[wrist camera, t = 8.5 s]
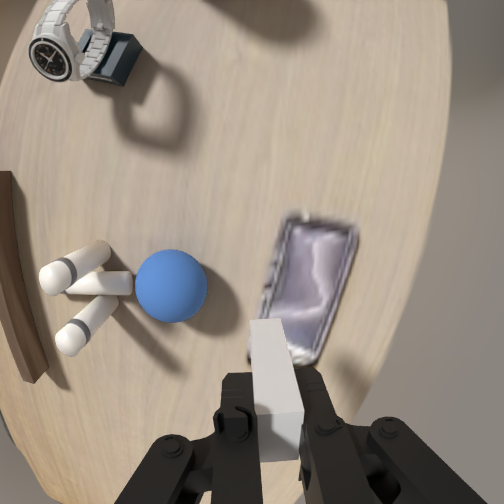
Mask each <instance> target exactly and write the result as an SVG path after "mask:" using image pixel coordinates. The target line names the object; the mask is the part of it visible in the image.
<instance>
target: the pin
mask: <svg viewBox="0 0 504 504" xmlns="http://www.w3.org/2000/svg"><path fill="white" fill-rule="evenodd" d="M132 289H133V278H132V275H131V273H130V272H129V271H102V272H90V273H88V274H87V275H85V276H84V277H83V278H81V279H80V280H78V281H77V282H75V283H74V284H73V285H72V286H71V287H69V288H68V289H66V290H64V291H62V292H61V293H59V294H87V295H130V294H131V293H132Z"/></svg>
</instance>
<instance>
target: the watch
mask: <svg viewBox="0 0 504 504" xmlns="http://www.w3.org/2000/svg"><path fill="white" fill-rule="evenodd" d="M78 1H79V0H54V1H53V2H52V4H51V5H50V6H49V7H48V8H47V10H46V11H45V13H44V14H45V15H43V16H42V18H41V20H40V22H39V24H37V25H36V28H35V31H34V35H33V40H32V41H31V42H30V44H29V47H28V55H29V58H30V61H31V63H32V65H33V66H34V68H35V69H36V70H37V71H38V72H39V73H40V74H41V75H42V76H44V77H45V78H47V79H49V80H51V81H54V82H66V81H68V80H70V81H79V80H82V79H84V78H86V79H92V80H97V81H102V82H107V83H112V84H116V85H121V86H124V84H125V82H126V80H127V78H128V76H129V74H130V71H131V69H132V67H133V65H134V63H135V62H136V60H137V58H138V56H139V54H140V52H141V50H142V48H143V47H142V46H141V44H140V43H139V42H138V40H137V39H136V38H135V36H134V35H133V34H127V33H120V32H112V31H113V29H115V15H114V8H113V3H112V0H87V3H86V4H87V7H88V10H89V14H90V21H91V28H94V30H90V29H86V30H85V31H84V33H83V35H82V37H81V38H80V40H79V42H78V43H77V42H76V41H75V40H74V38H73V37H72V36H71V33H70V29H69V24H68V23H67V22H64V20H65V18H66V14H68V13H69V11H70V10H71V8H72V7H73V5H75V4H76V3H77V2H78ZM63 22H64V23H63Z"/></svg>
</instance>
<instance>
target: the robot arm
mask: <svg viewBox="0 0 504 504" xmlns="http://www.w3.org/2000/svg"><path fill="white" fill-rule="evenodd" d="M250 343H251V368H252V372H245V373H228V374H227V375H226V376H225V378H224V379H223V381H222V392H221V405H220V408H219V409H218V410H217V411H216V412H215V414H214V416H213V421H214V427H215V432H214V433H213V434H211V435H210V436H208V437H205V438H202V439H198V440H193V441H189V440H188V439H187V438H186V437H183V436H181V435H175V434H170V435H164V436H162V437H160V438H158V439H157V440H156V441H155V442H154V443H153V444H152V446H151V447H150V449H149V451H148V452H147V454H146V455H145V457H144V458H143V460H142V461H141V463H140V465H139V466H138V468H137V469H136V471H135V472H134V474H133V475H132V477H131V478H130V480H129V482H128V483H127V485H126V486H125V488H124V489H123V491H122V492H121V494H120V495H119V497H118V498H117V500H116V501H115V503H114V504H199V503H200V501H201V499H202V496H203V494H204V492H206V491H211V490H212V493H211V504H263V496H262V483H261V470H260V462H276V461H287V460H297V459H298V458H299V454H300V459H301V466H300V472H299V480H298V481H301V480H302V484H303V489H304V495H305V500H306V504H487V503H486V502H485V501H484V500H483V499H482V498H481V497H480V496H479V495H478V494H477V493H476V492H475V491H474V490H473V489H472V488H471V487H470V486H469V485H467V483H465V482H464V481H463V480H462V479H461V478H460V477H459V476H458V475H457V474H456V473H455V472H454V471H453V470H452V469H451V468H450V467H449V466H448V465H447V464H446V463H445V462H444V461H443V460H442V459H441V458H440V457H439V456H438V455H437V454H436V453H435V452H434V451H433V450H432V449H430V447H428V446H427V445H426V444H425V443H424V442H423V441H422V440H421V439H420V438H419V437H418V436H417V435H416V434H415V433H414V432H413V431H412V430H411V429H410V428H409V427H408V426H407V425H406V424H405V423H404V422H403V421H401V420H400V419H398V418H394V417H382V418H379V419H377V420H375V421H374V422H373V423H372V425H371V426H370V427H369V426H354V425H350V424H347V423H345V422H344V420H343V419H342V418H340V417H339V416H337V415H336V413H335V410H334V407H333V405H332V402H331V399H330V397H329V394H328V391H327V390H326V386H325V384H324V381H323V378H322V376H321V374H320V373H319V372H318V371H317V370H316V369H315V368H314V367H310V368H299V369H293V365H292V361H291V357H290V353H289V350H288V346H287V342H286V338H285V334H284V331H283V327H282V323H281V319H280V318H277V319H256V320H250Z"/></svg>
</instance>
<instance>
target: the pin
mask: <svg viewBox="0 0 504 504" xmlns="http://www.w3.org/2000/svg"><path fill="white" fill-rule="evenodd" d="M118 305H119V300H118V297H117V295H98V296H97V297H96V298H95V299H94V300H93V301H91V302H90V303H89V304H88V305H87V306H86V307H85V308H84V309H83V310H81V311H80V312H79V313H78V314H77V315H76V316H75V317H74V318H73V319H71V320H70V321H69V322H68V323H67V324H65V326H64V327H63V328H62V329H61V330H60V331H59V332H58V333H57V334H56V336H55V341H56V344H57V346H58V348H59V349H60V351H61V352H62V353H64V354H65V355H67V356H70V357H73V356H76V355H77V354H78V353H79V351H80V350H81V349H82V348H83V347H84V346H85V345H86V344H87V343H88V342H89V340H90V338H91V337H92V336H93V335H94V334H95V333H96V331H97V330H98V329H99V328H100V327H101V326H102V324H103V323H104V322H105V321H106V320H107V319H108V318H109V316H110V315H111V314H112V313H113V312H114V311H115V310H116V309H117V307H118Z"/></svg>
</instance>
